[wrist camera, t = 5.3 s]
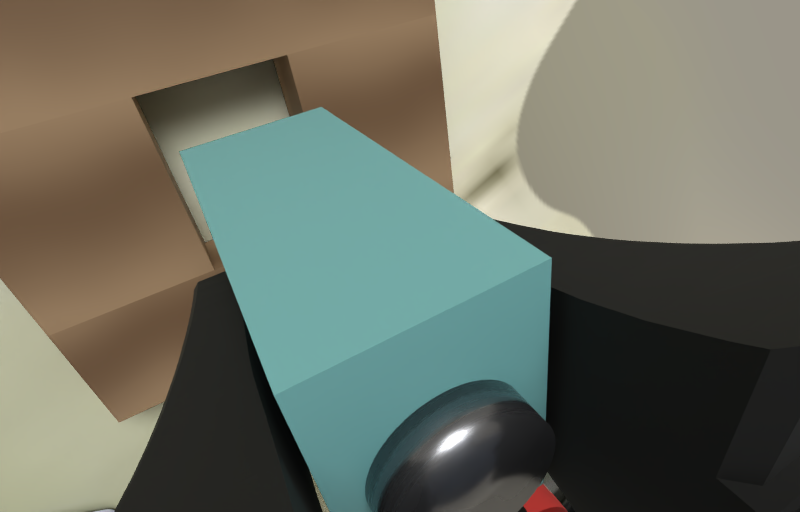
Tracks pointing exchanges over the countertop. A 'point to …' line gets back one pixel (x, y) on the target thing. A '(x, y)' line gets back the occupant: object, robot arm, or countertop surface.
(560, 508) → the canned food
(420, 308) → the post
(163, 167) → the slot plate
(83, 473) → the countertop surface
